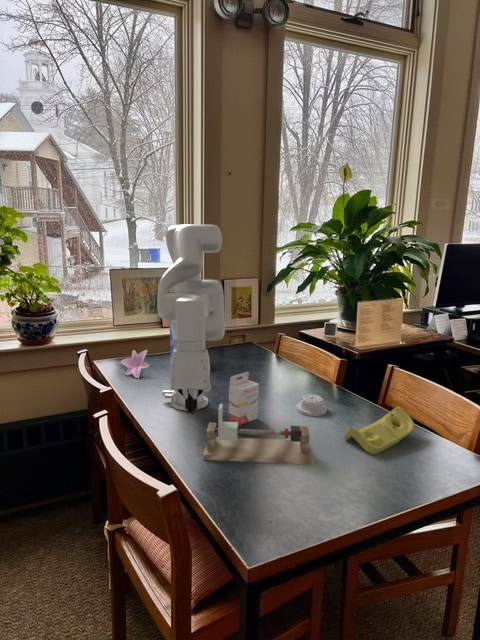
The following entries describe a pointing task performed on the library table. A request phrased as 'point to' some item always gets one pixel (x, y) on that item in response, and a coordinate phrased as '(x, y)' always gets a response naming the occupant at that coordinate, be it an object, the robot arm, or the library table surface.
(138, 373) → the lily
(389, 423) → the plastic component
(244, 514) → the library table surface
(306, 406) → the mechanical component
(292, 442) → the lead screw slide
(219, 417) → the pale green slide carriage
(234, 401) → the ink cartridge box
